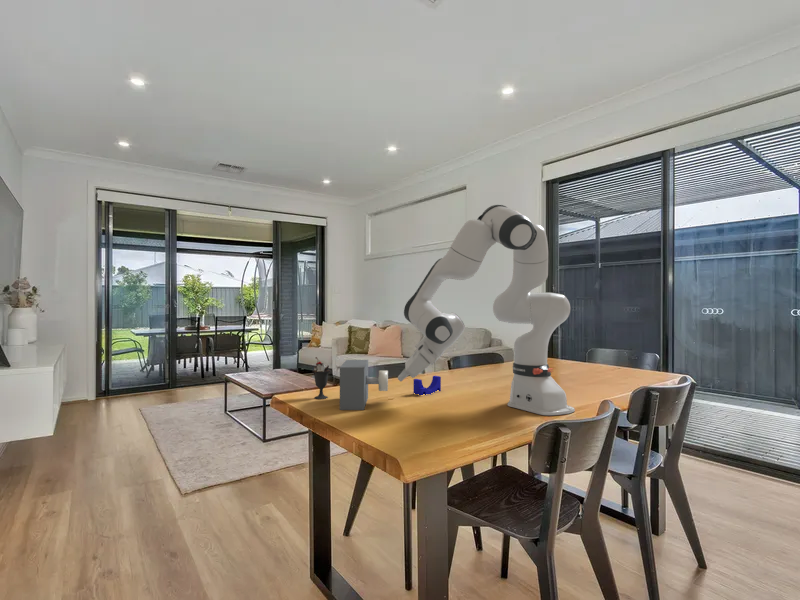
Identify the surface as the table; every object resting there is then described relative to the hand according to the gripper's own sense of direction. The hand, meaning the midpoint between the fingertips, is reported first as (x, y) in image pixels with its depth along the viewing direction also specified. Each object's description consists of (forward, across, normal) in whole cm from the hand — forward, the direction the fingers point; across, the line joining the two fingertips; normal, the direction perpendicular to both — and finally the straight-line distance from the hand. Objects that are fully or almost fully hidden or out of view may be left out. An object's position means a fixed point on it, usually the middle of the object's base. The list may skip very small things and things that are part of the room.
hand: (399, 379), depth 150 cm
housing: (+17, -1, -5) cm, 18 cm away
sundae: (+26, -9, -14) cm, 31 cm away
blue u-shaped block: (-2, -18, +14) cm, 23 cm away
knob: (+9, 0, -3) cm, 9 cm away
